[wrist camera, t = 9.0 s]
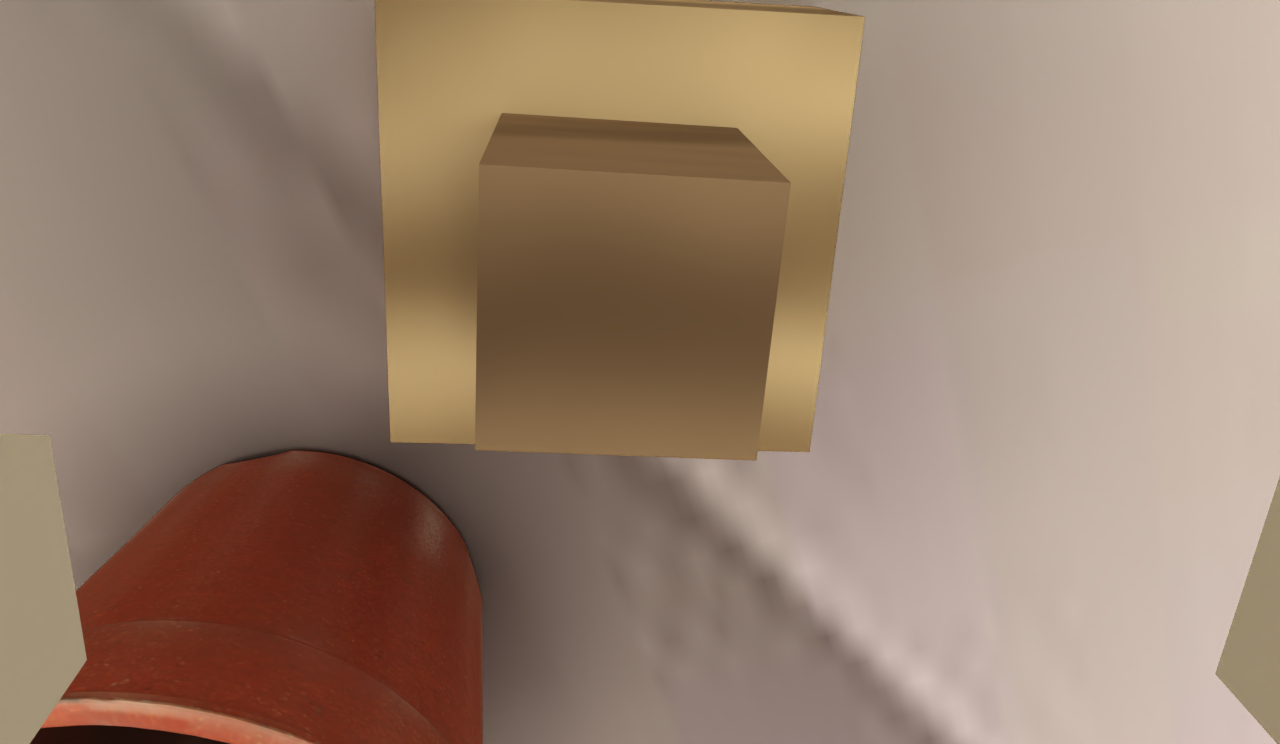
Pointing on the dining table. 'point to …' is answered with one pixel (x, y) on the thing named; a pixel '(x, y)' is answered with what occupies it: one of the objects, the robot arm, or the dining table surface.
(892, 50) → the dining table surface
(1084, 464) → the dining table surface
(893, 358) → the dining table surface
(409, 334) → the oak pedestal
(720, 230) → the walnut block
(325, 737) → the flower pot
